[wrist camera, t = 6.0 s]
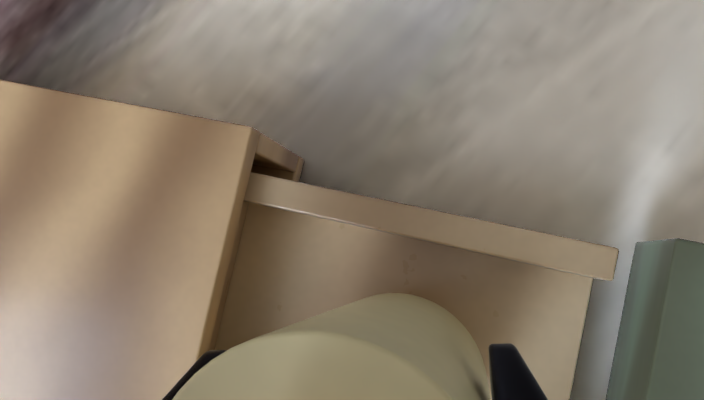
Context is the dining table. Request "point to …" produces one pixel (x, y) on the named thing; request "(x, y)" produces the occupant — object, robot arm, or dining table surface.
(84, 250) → the cabinet
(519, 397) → the robot arm
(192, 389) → the glue bottle
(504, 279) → the drawer
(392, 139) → the dining table surface
